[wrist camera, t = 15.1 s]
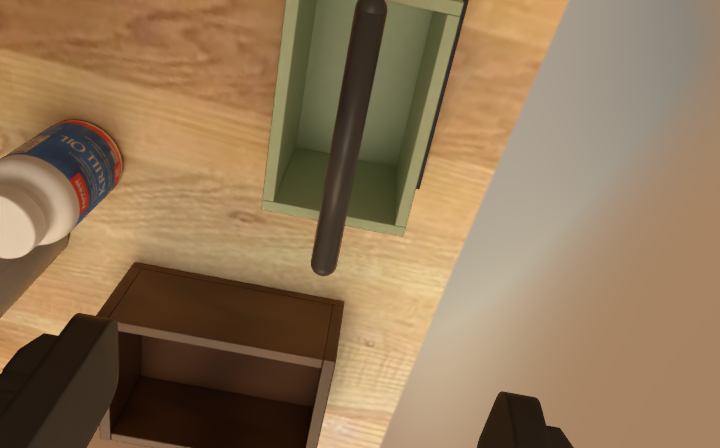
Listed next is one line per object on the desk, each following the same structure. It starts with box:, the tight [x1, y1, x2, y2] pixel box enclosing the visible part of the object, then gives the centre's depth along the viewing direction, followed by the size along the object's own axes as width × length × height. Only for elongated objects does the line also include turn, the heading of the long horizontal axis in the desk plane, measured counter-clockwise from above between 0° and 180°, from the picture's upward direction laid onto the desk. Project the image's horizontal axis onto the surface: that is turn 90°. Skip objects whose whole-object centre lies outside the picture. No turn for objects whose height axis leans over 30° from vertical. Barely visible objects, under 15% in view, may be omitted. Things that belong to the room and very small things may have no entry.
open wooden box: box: [96, 263, 344, 448], centre depth 44 cm, size 16×11×6 cm
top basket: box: [261, 0, 464, 276], centre depth 30 cm, size 13×8×13 cm, turn 170°
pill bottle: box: [0, 120, 123, 259], centre depth 36 cm, size 6×5×10 cm
